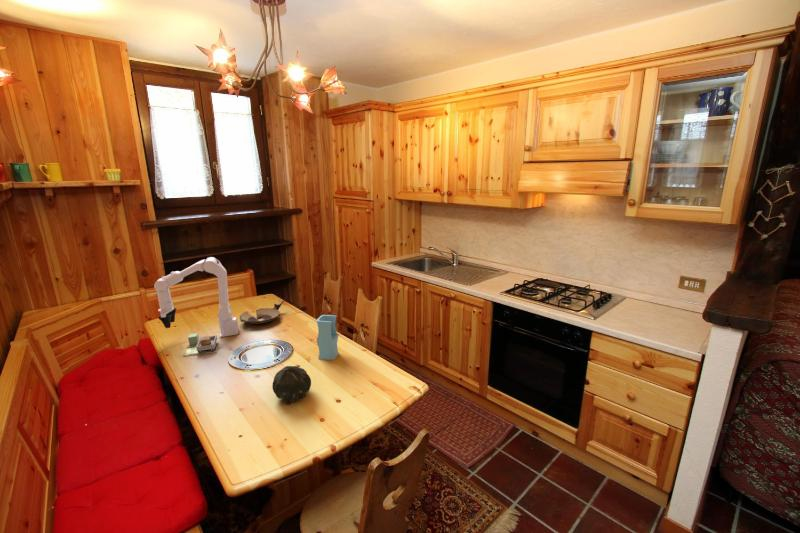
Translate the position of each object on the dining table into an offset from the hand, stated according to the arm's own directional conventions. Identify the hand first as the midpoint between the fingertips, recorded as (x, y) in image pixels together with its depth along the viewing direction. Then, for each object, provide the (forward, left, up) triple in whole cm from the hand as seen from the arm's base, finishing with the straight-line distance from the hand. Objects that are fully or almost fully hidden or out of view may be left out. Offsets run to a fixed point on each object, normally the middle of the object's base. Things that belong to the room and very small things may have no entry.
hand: (170, 324), depth 194 cm
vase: (-77, +45, -10) cm, 90 cm away
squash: (-58, +73, -10) cm, 94 cm away
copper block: (-19, +18, -7) cm, 27 cm away
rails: (-16, +15, -10) cm, 24 cm away
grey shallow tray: (-19, +15, -10) cm, 26 cm away
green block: (-11, +5, -10) cm, 16 cm away
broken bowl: (-47, -13, -10) cm, 50 cm away
